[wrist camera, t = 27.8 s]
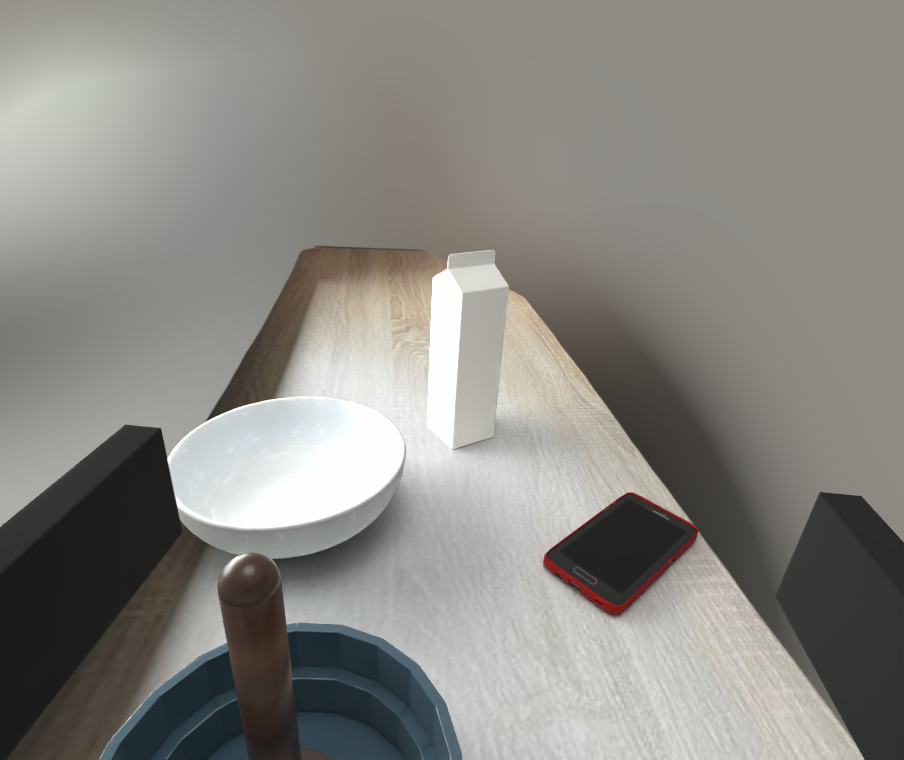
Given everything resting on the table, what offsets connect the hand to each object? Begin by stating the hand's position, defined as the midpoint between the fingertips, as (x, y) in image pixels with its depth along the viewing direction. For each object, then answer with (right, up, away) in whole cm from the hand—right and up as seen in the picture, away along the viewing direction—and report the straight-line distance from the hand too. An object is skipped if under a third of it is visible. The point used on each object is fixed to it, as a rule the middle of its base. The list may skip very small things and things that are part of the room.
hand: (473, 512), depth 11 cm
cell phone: (+15, -13, +39) cm, 44 cm away
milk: (0, -4, +56) cm, 56 cm away
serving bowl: (-16, -10, +42) cm, 46 cm away
